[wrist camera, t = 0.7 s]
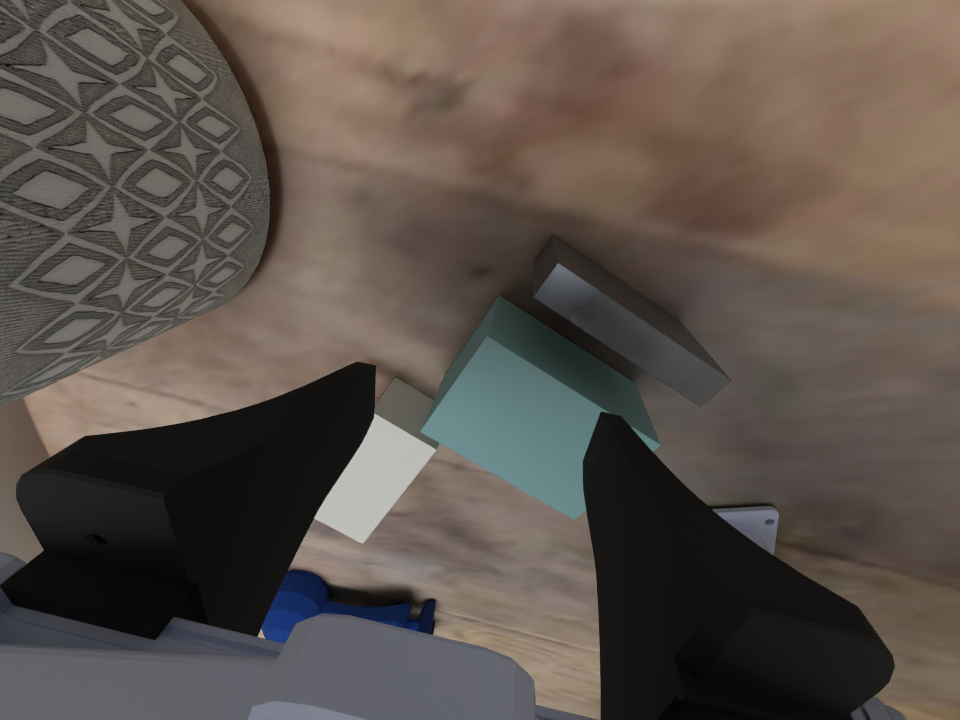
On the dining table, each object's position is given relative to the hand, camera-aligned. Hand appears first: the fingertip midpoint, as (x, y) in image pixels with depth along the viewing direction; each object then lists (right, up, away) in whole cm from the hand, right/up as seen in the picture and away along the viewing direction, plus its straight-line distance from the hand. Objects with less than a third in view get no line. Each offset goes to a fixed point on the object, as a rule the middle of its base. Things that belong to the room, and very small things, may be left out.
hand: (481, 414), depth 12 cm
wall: (+6, +5, +7) cm, 11 cm away
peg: (-6, -4, +14) cm, 16 cm away
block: (+3, +1, +10) cm, 11 cm away
